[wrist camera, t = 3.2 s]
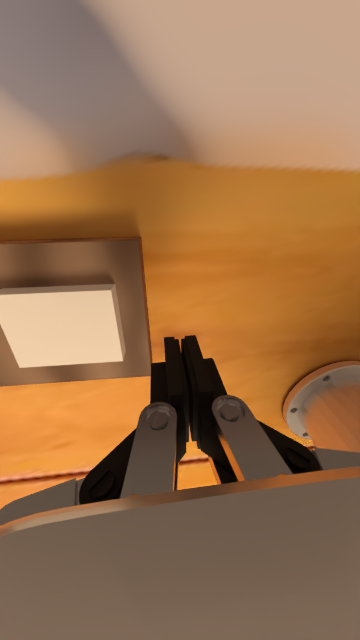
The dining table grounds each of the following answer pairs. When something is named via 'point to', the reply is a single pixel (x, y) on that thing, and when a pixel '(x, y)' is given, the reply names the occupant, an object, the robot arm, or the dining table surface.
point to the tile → (62, 324)
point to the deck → (81, 269)
